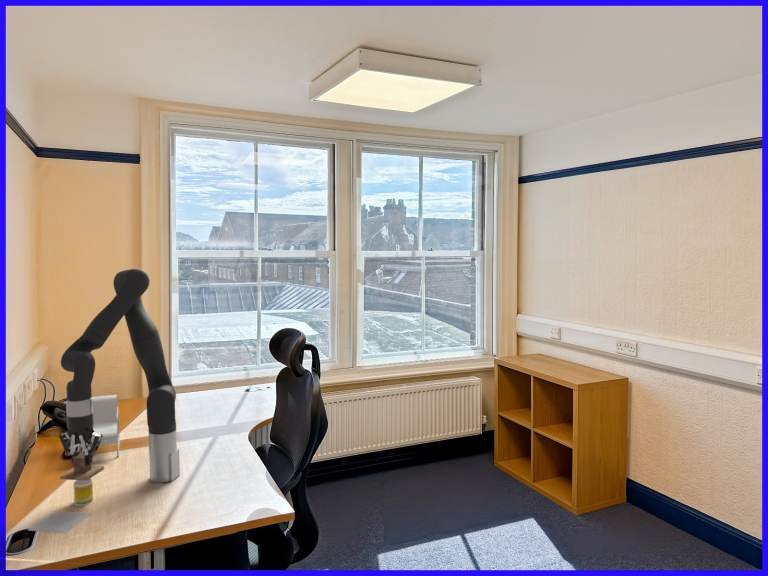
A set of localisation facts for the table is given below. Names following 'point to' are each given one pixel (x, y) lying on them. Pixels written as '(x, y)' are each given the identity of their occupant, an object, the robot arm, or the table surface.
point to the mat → (59, 521)
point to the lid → (81, 470)
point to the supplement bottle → (83, 492)
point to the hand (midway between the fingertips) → (82, 464)
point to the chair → (106, 420)
